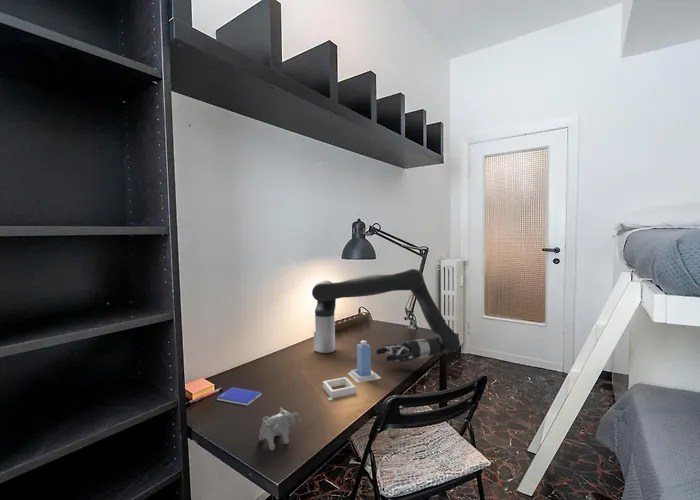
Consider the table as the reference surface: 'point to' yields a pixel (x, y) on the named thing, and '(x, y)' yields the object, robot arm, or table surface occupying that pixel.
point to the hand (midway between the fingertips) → (381, 354)
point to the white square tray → (363, 378)
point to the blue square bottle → (363, 359)
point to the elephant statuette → (277, 427)
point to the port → (340, 392)
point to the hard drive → (239, 396)
